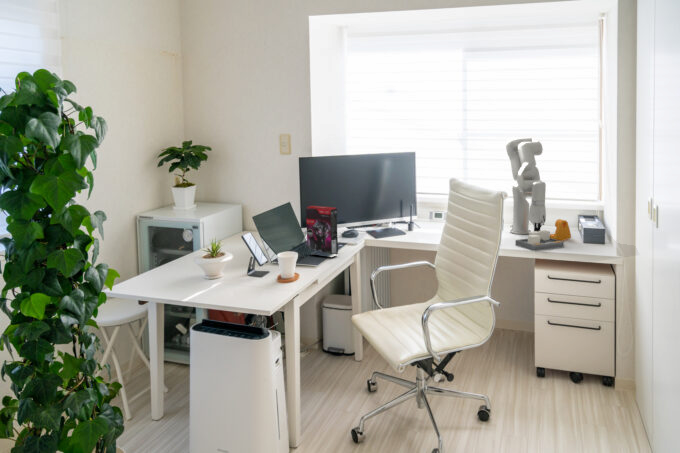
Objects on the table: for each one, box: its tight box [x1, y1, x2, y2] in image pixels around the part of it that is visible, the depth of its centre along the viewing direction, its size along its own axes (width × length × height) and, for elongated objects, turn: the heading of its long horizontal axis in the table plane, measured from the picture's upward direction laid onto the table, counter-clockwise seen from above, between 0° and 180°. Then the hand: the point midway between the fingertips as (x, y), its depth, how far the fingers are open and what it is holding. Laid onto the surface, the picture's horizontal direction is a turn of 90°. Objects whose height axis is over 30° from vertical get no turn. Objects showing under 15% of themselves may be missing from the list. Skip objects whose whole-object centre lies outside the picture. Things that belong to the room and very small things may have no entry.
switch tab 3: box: [538, 229, 551, 240], centre depth 359 cm, size 4×5×5 cm
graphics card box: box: [305, 205, 339, 255], centre depth 340 cm, size 17×7×27 cm, turn 56°
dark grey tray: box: [515, 238, 565, 252], centre depth 354 cm, size 16×21×3 cm
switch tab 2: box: [527, 234, 540, 245], centre depth 348 cm, size 4×5×5 cm
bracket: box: [550, 218, 572, 242], centre depth 369 cm, size 11×7×12 cm, turn 110°
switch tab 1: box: [528, 230, 541, 237], centre depth 357 cm, size 4×5×5 cm
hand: (537, 233), depth 365 cm, fingers closed
